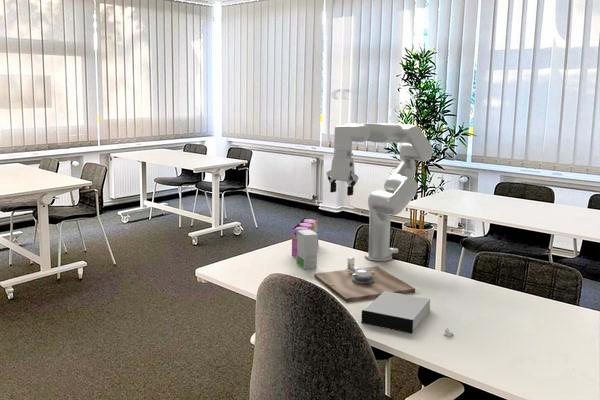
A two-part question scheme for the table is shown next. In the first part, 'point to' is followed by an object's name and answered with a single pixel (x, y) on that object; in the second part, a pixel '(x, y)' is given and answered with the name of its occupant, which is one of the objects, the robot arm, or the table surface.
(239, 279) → the table surface
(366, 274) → the lock lever
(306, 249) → the skincare box
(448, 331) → the adhesive hook
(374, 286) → the mounting board
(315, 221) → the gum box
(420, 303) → the disc drive
